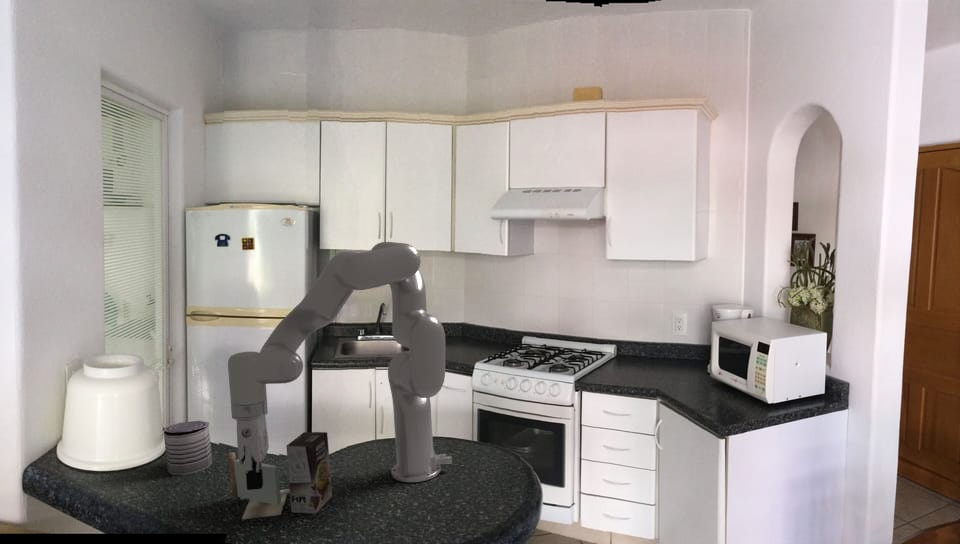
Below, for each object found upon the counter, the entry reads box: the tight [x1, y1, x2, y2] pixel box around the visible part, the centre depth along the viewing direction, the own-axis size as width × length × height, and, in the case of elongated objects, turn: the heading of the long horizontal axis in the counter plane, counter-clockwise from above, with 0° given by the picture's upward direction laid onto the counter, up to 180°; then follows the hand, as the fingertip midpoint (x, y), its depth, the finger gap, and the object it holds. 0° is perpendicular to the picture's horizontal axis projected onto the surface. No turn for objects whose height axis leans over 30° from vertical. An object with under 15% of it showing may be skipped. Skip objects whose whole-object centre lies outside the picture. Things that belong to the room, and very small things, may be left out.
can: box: [161, 420, 213, 476], centre depth 176 cm, size 11×11×12 cm
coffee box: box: [285, 431, 333, 515], centre depth 150 cm, size 9×6×16 cm
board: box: [241, 494, 288, 521], centre depth 150 cm, size 8×10×1 cm
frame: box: [227, 451, 290, 501], centre depth 156 cm, size 18×3×11 cm, turn 99°
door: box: [235, 458, 281, 505], centre depth 151 cm, size 12×1×9 cm, turn 64°
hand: (255, 487), depth 143 cm, fingers closed
